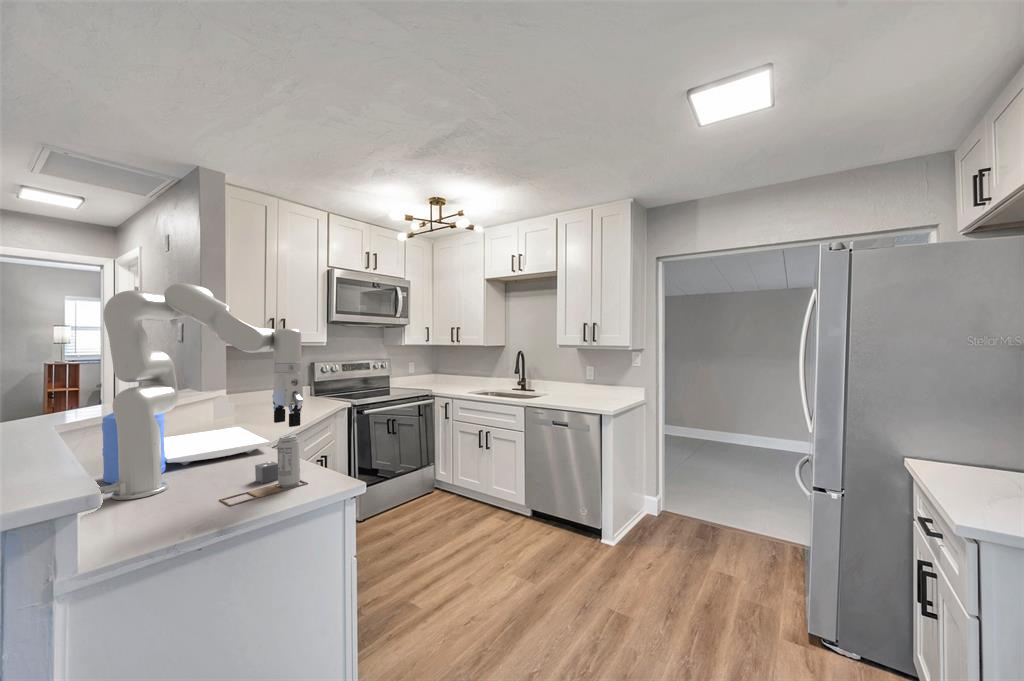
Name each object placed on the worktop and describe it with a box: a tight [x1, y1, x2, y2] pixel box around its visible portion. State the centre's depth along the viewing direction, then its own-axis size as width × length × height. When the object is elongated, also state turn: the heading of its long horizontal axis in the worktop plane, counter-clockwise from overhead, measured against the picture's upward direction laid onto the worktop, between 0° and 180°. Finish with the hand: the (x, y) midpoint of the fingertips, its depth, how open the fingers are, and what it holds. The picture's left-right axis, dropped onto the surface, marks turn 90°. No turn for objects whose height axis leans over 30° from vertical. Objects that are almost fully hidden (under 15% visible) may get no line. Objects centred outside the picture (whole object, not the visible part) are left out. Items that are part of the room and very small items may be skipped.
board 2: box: [218, 479, 309, 507], centre depth 124 cm, size 21×7×1 cm, turn 143°
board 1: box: [164, 426, 271, 466], centre depth 173 cm, size 45×32×5 cm
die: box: [254, 461, 278, 484], centre depth 135 cm, size 5×5×5 cm
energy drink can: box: [276, 434, 301, 489], centre depth 130 cm, size 6×6×15 cm
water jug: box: [101, 412, 167, 484], centre depth 141 cm, size 16×16×28 cm
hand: (286, 424), depth 130 cm, fingers open, 9 cm apart
